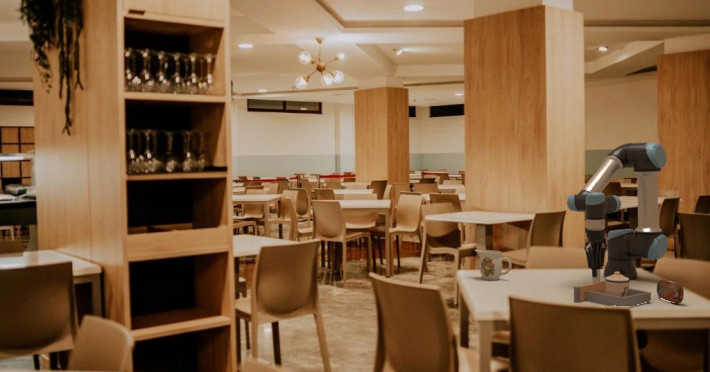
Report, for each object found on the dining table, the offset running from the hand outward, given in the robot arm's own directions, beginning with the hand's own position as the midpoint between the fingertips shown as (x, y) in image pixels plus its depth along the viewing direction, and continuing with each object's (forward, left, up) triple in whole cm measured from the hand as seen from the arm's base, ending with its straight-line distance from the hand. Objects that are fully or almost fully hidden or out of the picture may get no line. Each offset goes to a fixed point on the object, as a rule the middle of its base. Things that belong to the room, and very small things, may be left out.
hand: (596, 284), depth 269 cm
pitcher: (+9, -51, -5) cm, 52 cm away
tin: (-11, +26, -5) cm, 29 cm away
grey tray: (+8, +13, -4) cm, 16 cm away
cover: (+8, +4, -4) cm, 10 cm away
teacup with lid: (+6, +14, -4) cm, 16 cm away
